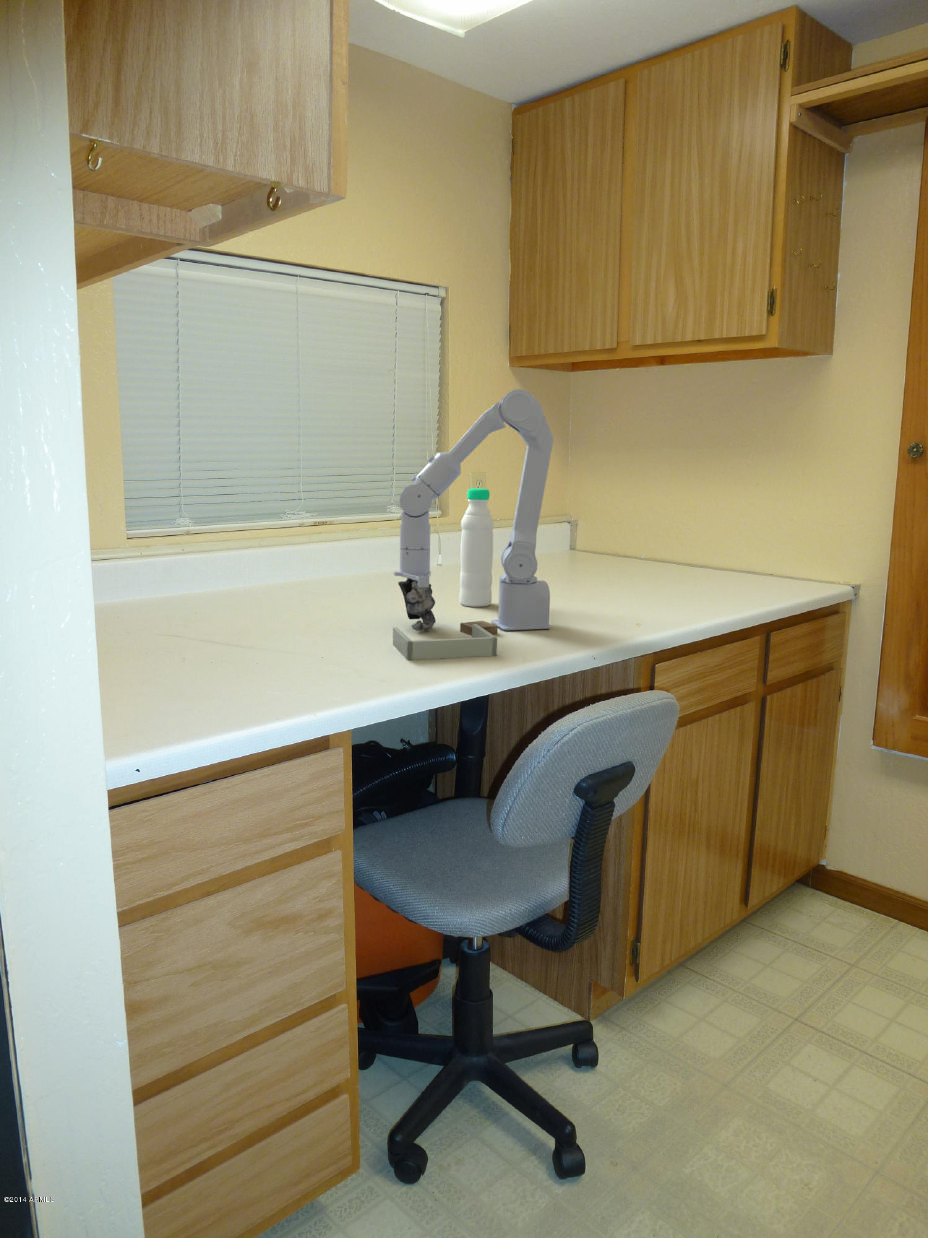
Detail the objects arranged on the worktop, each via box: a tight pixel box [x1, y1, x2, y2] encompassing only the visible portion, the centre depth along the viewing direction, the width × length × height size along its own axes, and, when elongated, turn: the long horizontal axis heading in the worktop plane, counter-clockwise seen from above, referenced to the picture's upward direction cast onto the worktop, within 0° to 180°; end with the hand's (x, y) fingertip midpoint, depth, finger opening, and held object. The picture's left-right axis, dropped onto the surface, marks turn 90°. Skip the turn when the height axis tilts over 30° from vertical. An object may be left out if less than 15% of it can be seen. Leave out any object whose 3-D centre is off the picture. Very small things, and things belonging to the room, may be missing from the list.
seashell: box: [406, 581, 436, 632], centre depth 161 cm, size 5×5×10 cm
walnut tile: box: [459, 620, 499, 637], centre depth 161 cm, size 5×5×2 cm
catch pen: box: [392, 624, 498, 661], centre depth 147 cm, size 15×11×3 cm
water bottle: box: [458, 487, 495, 608], centre depth 186 cm, size 7×7×25 cm
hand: (414, 618), depth 167 cm, fingers closed
